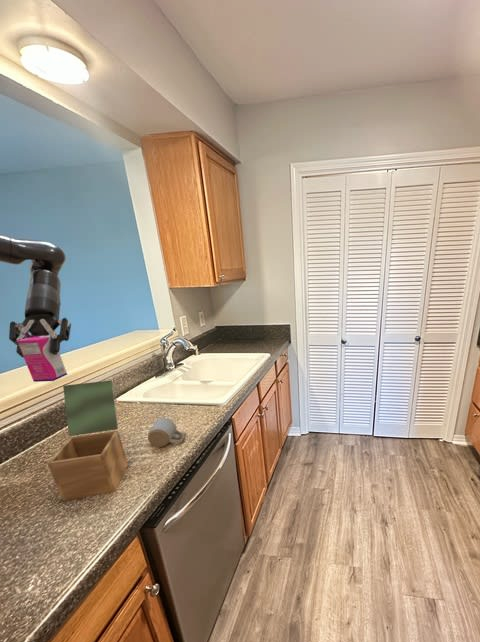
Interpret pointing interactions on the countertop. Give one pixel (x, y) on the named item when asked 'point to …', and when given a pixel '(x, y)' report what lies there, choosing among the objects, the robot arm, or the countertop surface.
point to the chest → (89, 465)
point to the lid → (90, 407)
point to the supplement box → (41, 359)
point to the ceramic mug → (163, 433)
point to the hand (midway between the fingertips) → (38, 354)
